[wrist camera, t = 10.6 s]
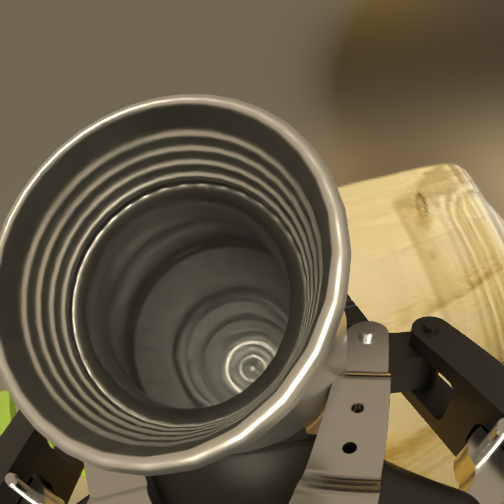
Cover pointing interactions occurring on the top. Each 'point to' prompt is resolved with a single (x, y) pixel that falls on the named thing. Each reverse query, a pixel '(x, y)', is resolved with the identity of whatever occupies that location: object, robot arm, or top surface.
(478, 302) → the top surface
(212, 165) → the plastic bottle
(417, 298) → the top surface
